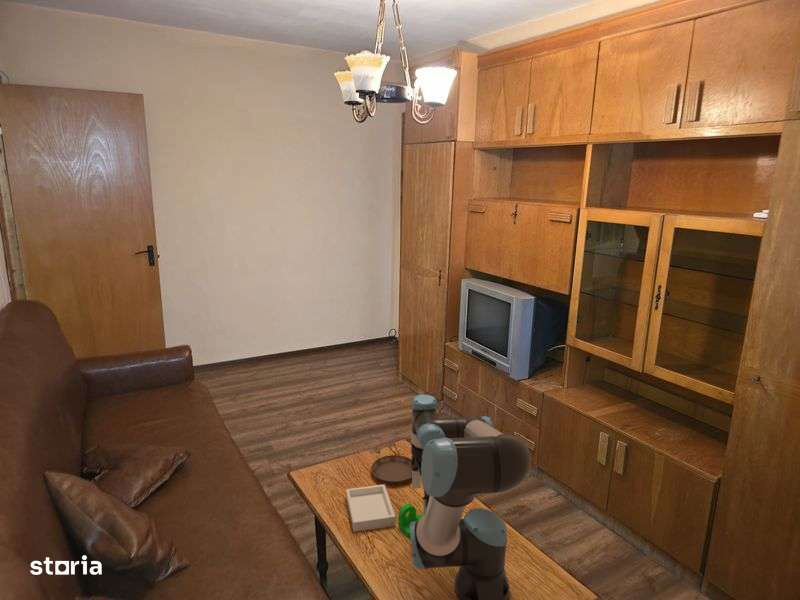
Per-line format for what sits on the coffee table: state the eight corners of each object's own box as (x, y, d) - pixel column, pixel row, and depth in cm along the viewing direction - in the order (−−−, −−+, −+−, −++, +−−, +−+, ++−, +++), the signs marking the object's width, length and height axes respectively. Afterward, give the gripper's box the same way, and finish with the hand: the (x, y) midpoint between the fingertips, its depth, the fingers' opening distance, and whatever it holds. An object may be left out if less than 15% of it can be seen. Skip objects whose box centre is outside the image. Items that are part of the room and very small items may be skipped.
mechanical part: (407, 538, 165) (408, 517, 163) (398, 527, 170) (398, 506, 168) (438, 526, 171) (439, 505, 169) (429, 515, 176) (429, 495, 174)
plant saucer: (364, 482, 194) (364, 475, 193) (379, 458, 210) (379, 451, 209) (409, 491, 189) (409, 484, 188) (421, 465, 205) (422, 458, 204)
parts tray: (395, 525, 171) (395, 516, 170) (353, 531, 168) (353, 522, 167) (384, 492, 188) (384, 484, 187) (346, 497, 184) (345, 489, 184)
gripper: (447, 463, 151) (444, 524, 157) (424, 421, 174) (422, 476, 180) (422, 467, 149) (420, 528, 155) (402, 424, 172) (401, 479, 178)
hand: (421, 500), depth 167 cm, fingers open, 13 cm apart
